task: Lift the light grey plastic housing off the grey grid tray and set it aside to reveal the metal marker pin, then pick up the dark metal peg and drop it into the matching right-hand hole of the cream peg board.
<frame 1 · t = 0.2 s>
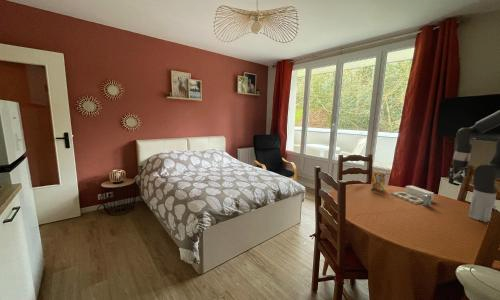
hand: (455, 183, 140), 17 cm above the table, tool pointing down, fingers open, 8 cm apart
cream peg board: (407, 199, 157), on the table
candy box: (377, 190, 177), on the table
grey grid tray: (417, 198, 160), on the table
grey housing: (418, 197, 159), point 1 cm above the table, touching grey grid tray
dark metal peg: (426, 207, 145), on the table
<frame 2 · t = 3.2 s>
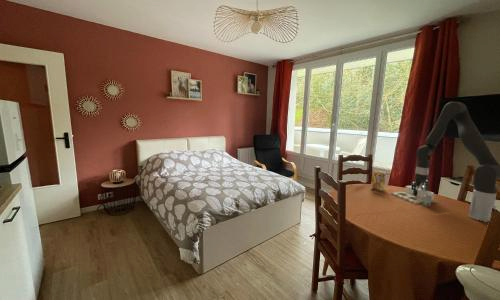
hand: (418, 194, 159), 3 cm above the table, tool pointing down, fingers closed on grey housing, 6 cm apart
grey housing: (418, 197, 159), point 1 cm above the table, touching gripper, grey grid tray
everything else where it was.
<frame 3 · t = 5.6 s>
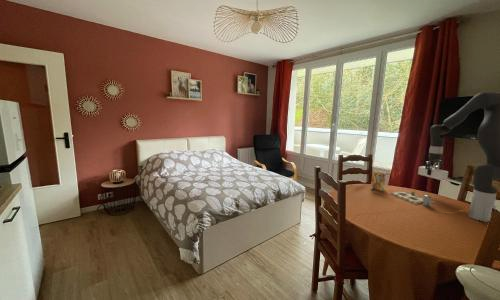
hand: (432, 174, 159), 18 cm above the table, tool pointing down, fingers closed on grey housing, 6 cm apart
grey housing: (431, 176, 160), point 16 cm above the table, touching gripper
everything else where it was.
when the fingers open (3 cm above the table, at t = 8.4 s): grey housing drops 2 cm, on the table.
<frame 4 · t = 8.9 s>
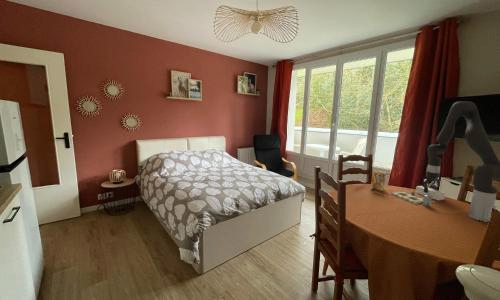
hand: (429, 192, 162), 4 cm above the table, tool pointing down, fingers open, 8 cm apart
grey housing: (428, 197, 162), on the table
everything else where it was.
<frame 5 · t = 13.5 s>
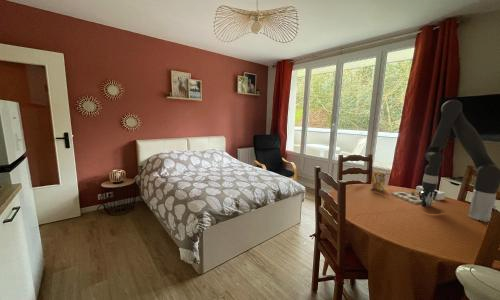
hand: (426, 205, 144), 1 cm above the table, tool pointing down, fingers closed on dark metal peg, 4 cm apart
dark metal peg: (426, 207, 145), on the table, touching gripper
everything else where it was.
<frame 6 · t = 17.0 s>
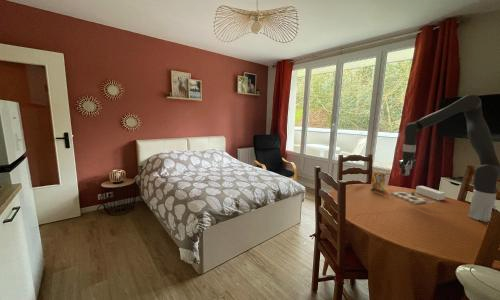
hand: (405, 173, 158), 18 cm above the table, tool pointing down, fingers closed on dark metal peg, 4 cm apart
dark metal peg: (405, 174, 158), point 17 cm above the table, touching gripper
everything else where it was.
when the fingers open (4 cm above the table, at t = 20.6 s): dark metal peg drops 3 cm, resting in cream peg board.
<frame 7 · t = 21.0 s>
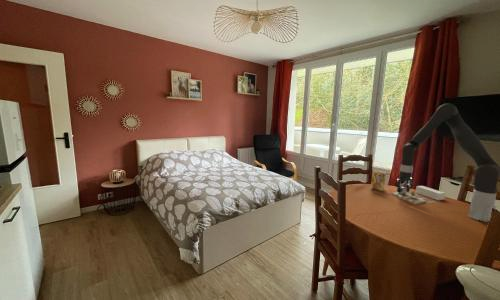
hand: (403, 192, 160), 4 cm above the table, tool pointing down, fingers open, 7 cm apart
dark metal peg: (402, 197, 161), resting in cream peg board
everything else where it was.
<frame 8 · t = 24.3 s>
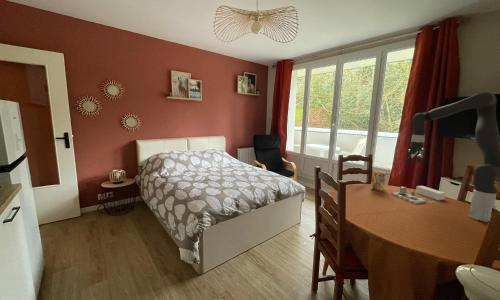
hand: (414, 163, 158), 26 cm above the table, tool pointing down, fingers open, 8 cm apart
nothing on the table moved.
at the end: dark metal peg 0.2 cm from the target spot, resting in cream peg board; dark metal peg tilted 0°; grey housing moved 11.0 cm from its start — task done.
